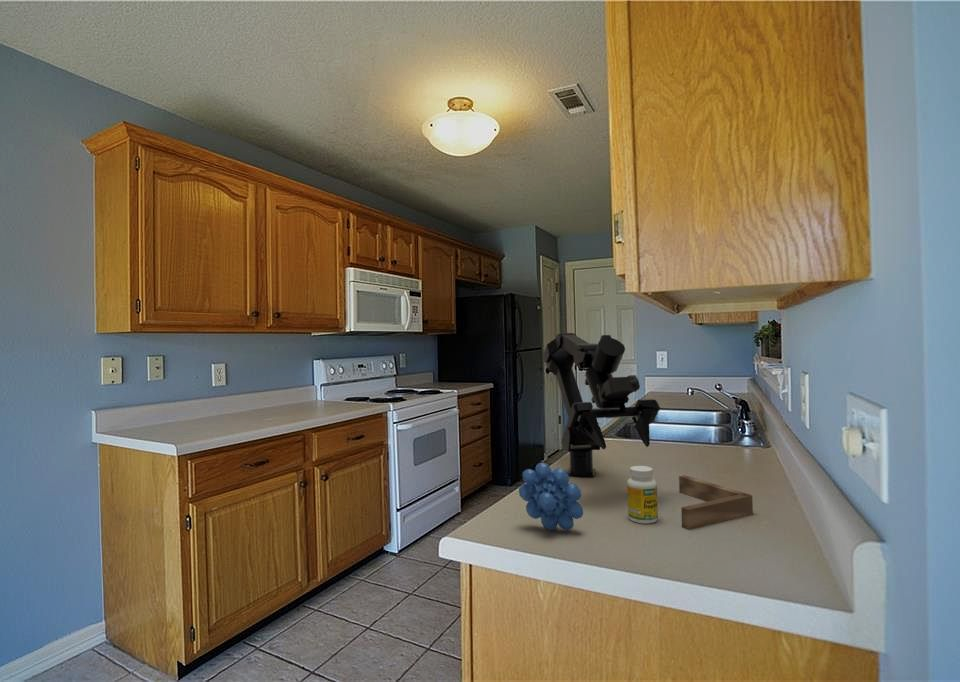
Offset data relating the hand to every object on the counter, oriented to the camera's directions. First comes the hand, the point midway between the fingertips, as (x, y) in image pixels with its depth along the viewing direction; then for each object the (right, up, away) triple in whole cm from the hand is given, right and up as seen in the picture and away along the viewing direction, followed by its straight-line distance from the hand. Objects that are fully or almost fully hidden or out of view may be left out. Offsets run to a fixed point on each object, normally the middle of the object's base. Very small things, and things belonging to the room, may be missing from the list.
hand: (626, 446), depth 98 cm
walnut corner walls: (+12, -12, -1) cm, 17 cm away
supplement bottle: (+1, -13, -6) cm, 14 cm away
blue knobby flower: (-17, -13, -11) cm, 24 cm away
